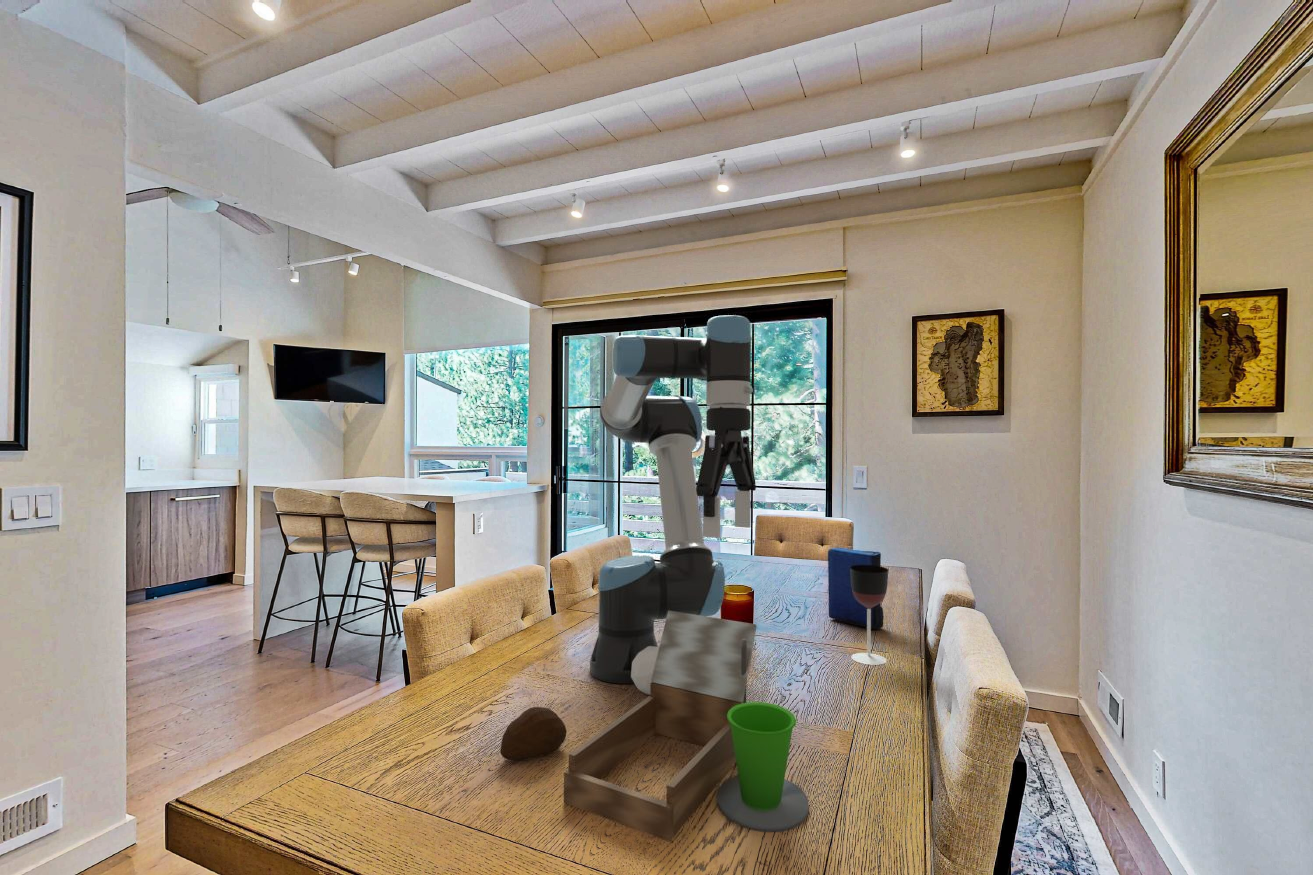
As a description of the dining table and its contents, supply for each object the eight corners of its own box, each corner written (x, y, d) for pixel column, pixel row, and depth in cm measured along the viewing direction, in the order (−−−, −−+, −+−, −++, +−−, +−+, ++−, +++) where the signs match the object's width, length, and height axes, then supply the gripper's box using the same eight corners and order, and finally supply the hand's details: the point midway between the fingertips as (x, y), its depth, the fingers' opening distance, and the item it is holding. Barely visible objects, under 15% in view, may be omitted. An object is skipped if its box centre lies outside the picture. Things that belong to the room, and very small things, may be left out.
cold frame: (563, 802, 81) (564, 662, 82) (669, 715, 107) (670, 609, 108) (669, 841, 74) (670, 686, 74) (756, 737, 100) (756, 623, 100)
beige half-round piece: (615, 683, 117) (659, 711, 108) (630, 636, 118) (674, 660, 109) (645, 685, 123) (689, 711, 114) (659, 640, 124) (703, 663, 116)
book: (885, 628, 158) (886, 551, 158) (875, 632, 155) (875, 553, 155) (836, 616, 169) (836, 544, 169) (825, 620, 165) (826, 546, 166)
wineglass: (848, 662, 134) (848, 570, 134) (851, 650, 142) (851, 563, 142) (887, 667, 131) (887, 574, 131) (888, 654, 139) (888, 566, 139)
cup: (798, 824, 76) (798, 735, 76) (724, 816, 77) (724, 728, 77) (794, 784, 85) (794, 704, 85) (728, 777, 86) (728, 699, 86)
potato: (491, 755, 94) (491, 709, 94) (553, 735, 100) (553, 692, 100) (510, 775, 88) (510, 726, 88) (574, 753, 94) (574, 707, 95)
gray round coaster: (702, 813, 79) (702, 807, 79) (736, 770, 90) (737, 764, 90) (792, 843, 73) (792, 836, 73) (819, 793, 84) (819, 787, 84)
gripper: (719, 402, 92) (718, 544, 92) (773, 410, 114) (772, 524, 114) (675, 404, 96) (674, 539, 96) (735, 411, 117) (735, 522, 117)
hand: (727, 531), depth 105 cm, fingers open, 13 cm apart
